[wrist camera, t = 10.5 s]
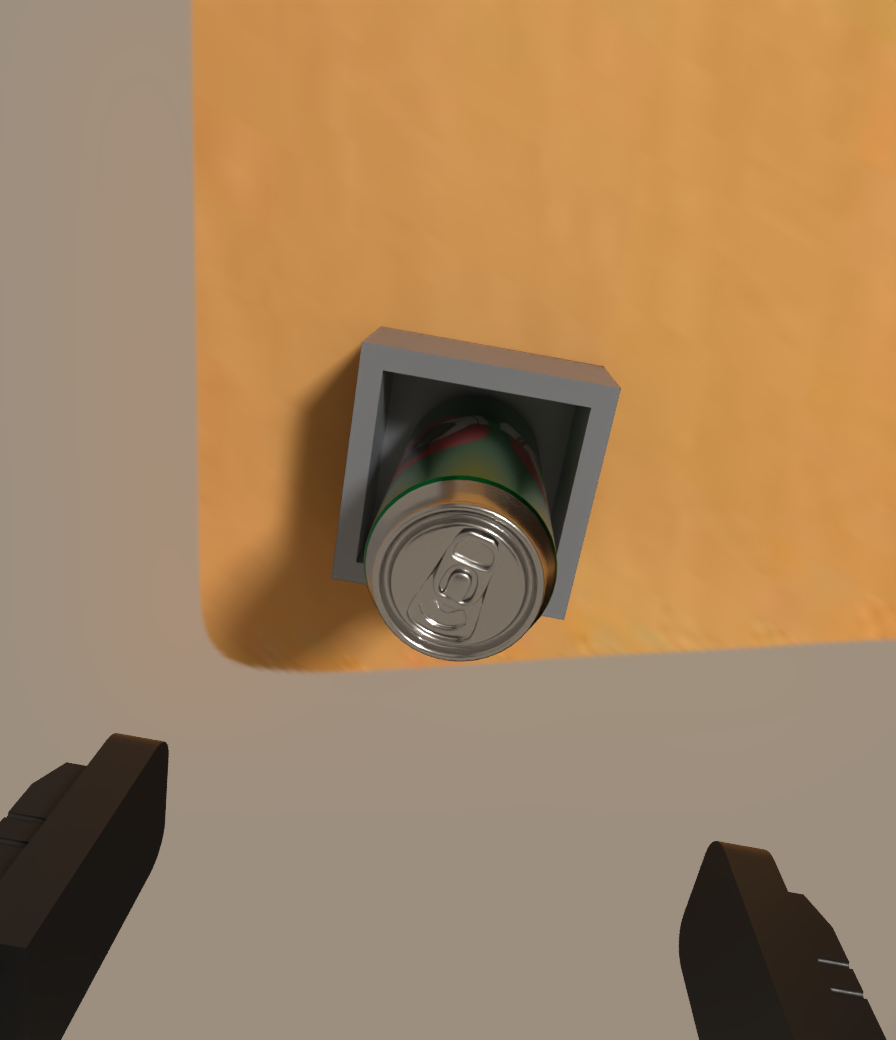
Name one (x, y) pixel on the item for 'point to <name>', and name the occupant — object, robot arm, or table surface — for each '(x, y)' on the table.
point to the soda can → (464, 534)
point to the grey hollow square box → (489, 373)
